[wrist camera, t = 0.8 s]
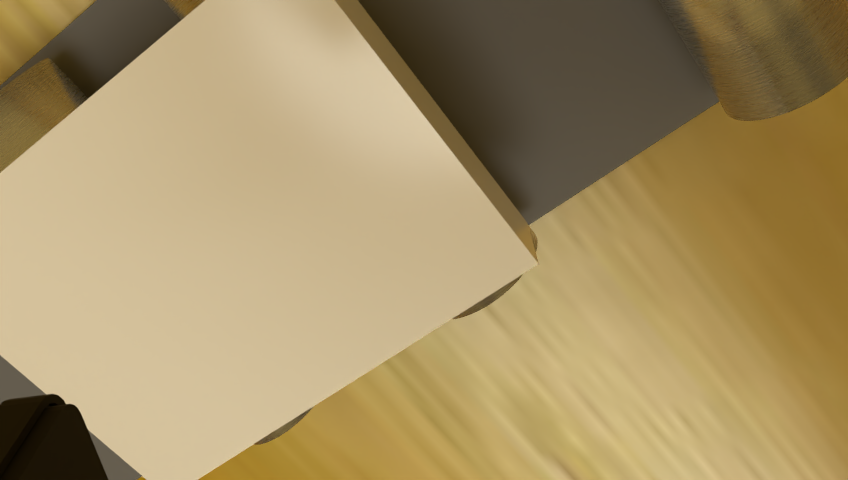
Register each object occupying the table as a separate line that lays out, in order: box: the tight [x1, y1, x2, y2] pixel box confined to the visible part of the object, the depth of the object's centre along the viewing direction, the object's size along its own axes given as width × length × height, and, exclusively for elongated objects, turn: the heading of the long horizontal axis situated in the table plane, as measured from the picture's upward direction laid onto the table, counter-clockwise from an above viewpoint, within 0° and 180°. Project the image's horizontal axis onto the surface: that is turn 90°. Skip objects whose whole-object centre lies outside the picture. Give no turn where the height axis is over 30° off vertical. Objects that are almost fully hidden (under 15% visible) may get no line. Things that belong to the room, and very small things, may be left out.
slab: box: [0, 0, 539, 480], centre depth 26 cm, size 12×16×3 cm
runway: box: [0, 0, 719, 480], centre depth 29 cm, size 21×48×8 cm, turn 127°
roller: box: [0, 58, 314, 444], centre depth 32 cm, size 16×5×5 cm, turn 37°
